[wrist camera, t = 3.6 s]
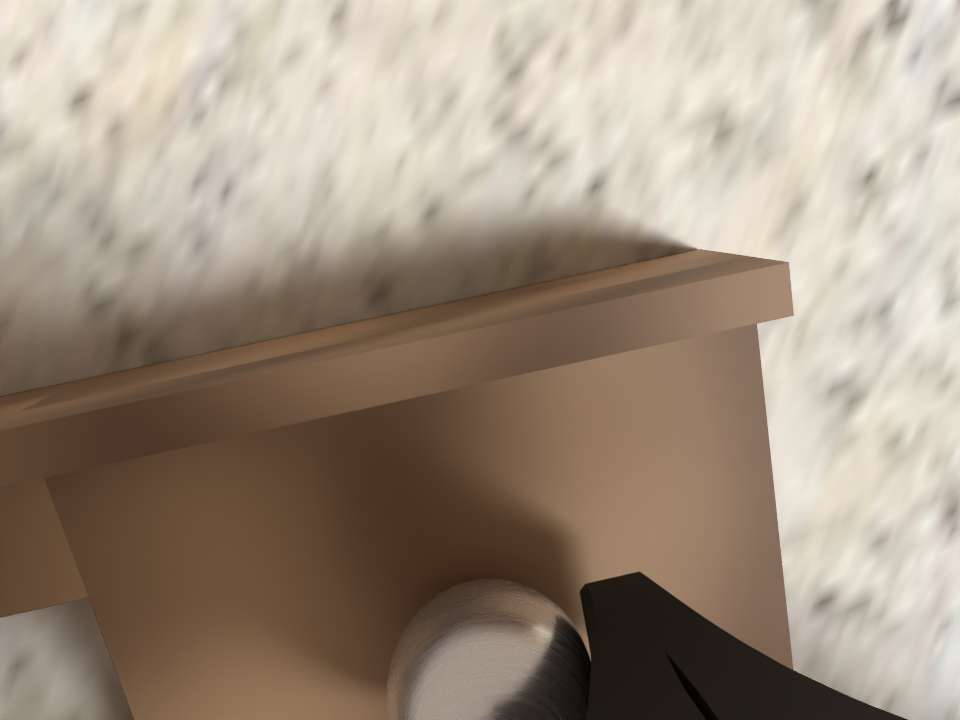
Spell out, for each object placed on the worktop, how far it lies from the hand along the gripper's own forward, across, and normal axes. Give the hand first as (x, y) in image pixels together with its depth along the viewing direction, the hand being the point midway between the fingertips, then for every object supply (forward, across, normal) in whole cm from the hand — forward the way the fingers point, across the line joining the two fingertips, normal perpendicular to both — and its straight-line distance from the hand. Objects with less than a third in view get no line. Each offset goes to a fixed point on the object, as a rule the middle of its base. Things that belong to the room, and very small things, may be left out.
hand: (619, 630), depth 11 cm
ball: (0, +2, 0) cm, 2 cm away
